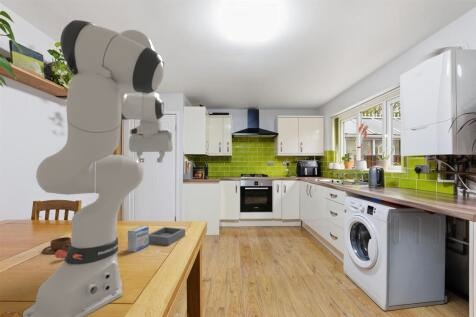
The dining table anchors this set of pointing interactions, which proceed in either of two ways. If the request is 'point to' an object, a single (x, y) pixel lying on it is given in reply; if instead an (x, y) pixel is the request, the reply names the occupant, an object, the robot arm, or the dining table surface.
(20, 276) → the dining table surface
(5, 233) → the dining table surface
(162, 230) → the tray
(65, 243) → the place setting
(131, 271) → the dining table surface
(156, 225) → the dining table surface
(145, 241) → the medicine box
